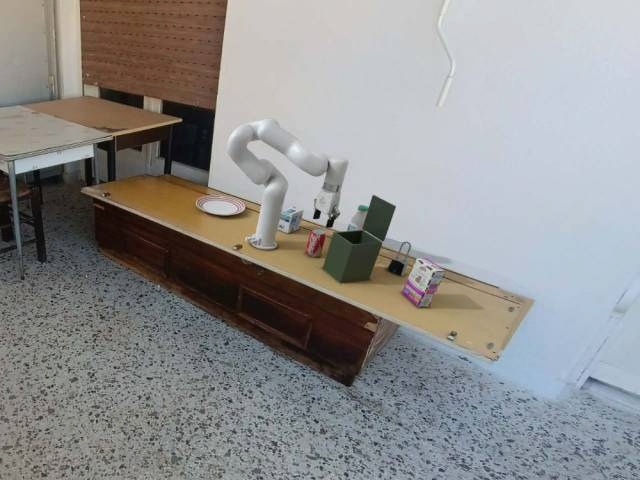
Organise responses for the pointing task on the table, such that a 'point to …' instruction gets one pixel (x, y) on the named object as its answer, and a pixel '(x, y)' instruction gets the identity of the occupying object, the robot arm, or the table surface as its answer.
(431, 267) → the candy bar box
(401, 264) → the padlock
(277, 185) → the robot arm
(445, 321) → the table surface
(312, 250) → the soda can
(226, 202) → the dinner plate
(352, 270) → the bin
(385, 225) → the bin lid
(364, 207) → the milk bottle
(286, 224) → the light bulb box
